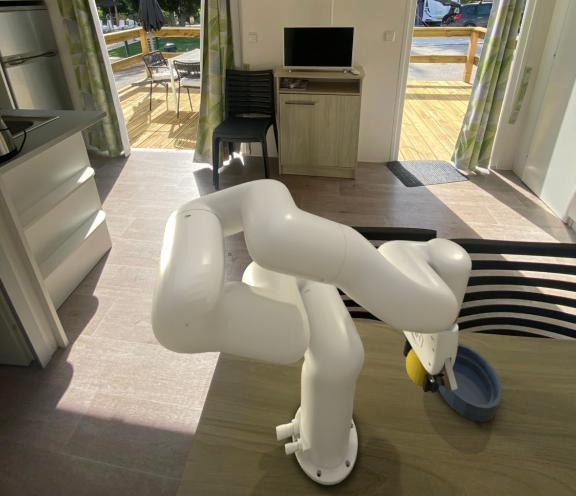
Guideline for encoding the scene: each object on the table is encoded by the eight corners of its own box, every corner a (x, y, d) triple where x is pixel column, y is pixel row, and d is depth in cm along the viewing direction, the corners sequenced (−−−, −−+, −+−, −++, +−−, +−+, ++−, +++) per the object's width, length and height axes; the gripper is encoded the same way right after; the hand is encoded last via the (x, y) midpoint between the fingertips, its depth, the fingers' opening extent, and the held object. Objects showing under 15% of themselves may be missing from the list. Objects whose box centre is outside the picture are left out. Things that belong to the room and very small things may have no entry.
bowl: (461, 431, 59) (465, 415, 57) (422, 364, 70) (425, 349, 68) (511, 414, 61) (517, 398, 60) (465, 352, 72) (469, 337, 71)
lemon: (435, 399, 57) (443, 371, 55) (405, 392, 58) (412, 364, 56) (428, 368, 63) (435, 341, 60) (401, 362, 64) (406, 335, 61)
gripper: (392, 269, 61) (381, 332, 67) (452, 358, 45) (432, 431, 51) (423, 264, 63) (410, 325, 68) (492, 348, 47) (468, 419, 53)
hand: (419, 370), depth 60 cm, fingers closed on lemon, 5 cm apart
